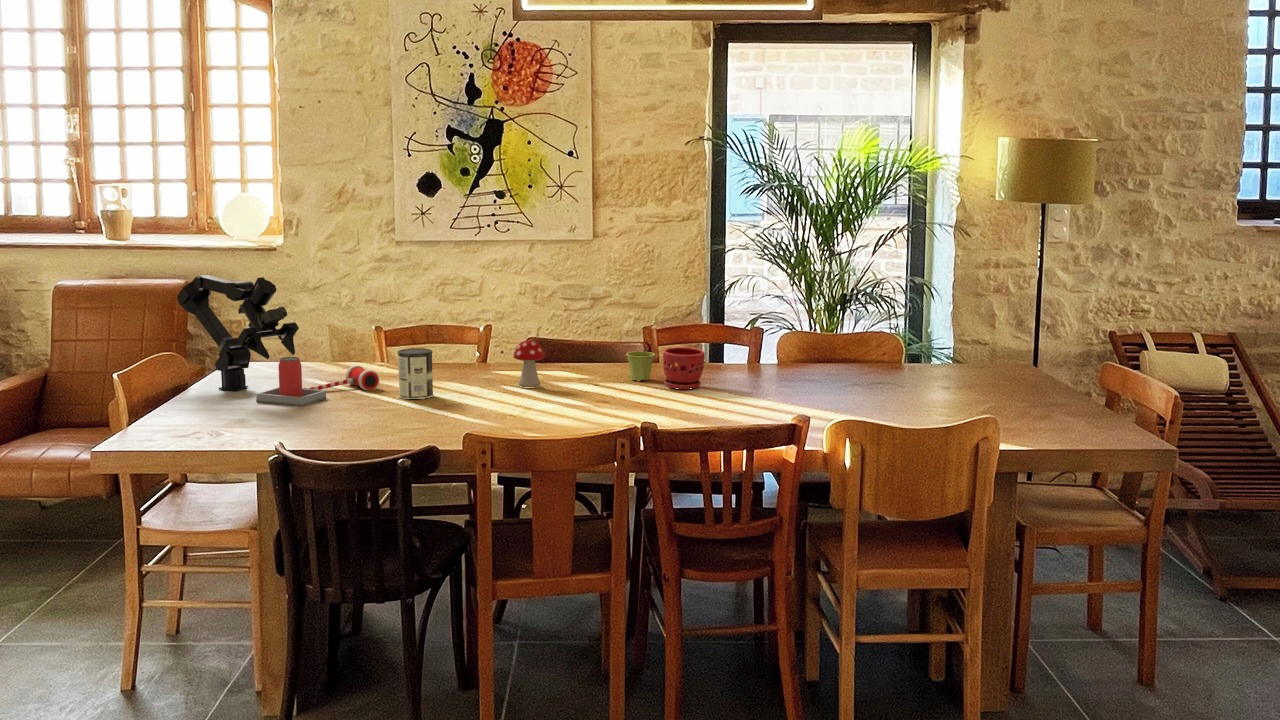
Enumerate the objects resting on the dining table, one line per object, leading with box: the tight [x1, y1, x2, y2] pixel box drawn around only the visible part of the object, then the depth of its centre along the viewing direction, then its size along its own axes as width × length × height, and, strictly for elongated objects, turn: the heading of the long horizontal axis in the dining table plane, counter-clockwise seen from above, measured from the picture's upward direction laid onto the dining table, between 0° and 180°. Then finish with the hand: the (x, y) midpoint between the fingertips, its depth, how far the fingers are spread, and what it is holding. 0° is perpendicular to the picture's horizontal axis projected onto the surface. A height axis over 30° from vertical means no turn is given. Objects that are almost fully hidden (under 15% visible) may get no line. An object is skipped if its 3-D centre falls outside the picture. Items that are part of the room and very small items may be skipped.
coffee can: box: [397, 347, 434, 400], centre depth 385 cm, size 10×10×14 cm
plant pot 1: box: [625, 351, 656, 382], centre depth 416 cm, size 9×9×9 cm
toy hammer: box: [302, 364, 380, 391], centre depth 396 cm, size 23×12×6 cm, turn 126°
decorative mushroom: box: [513, 339, 546, 387], centre depth 401 cm, size 10×9×15 cm
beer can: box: [278, 356, 303, 397], centre depth 378 cm, size 7×7×12 cm
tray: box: [255, 386, 327, 407], centre depth 379 cm, size 16×12×2 cm
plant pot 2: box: [662, 346, 706, 389], centre depth 403 cm, size 13×13×12 cm
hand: (281, 356), depth 380 cm, fingers open, 9 cm apart
